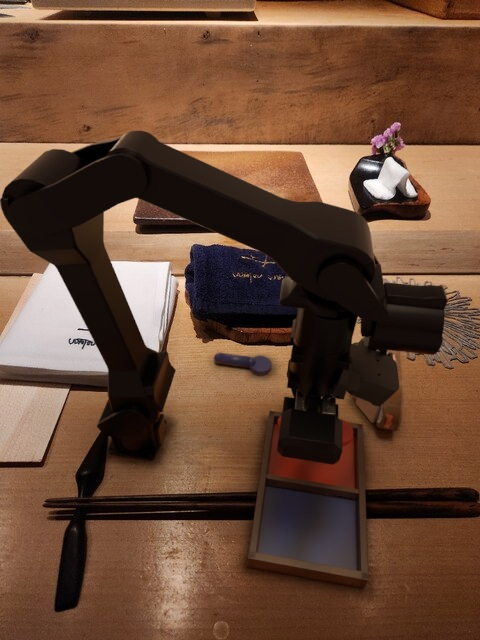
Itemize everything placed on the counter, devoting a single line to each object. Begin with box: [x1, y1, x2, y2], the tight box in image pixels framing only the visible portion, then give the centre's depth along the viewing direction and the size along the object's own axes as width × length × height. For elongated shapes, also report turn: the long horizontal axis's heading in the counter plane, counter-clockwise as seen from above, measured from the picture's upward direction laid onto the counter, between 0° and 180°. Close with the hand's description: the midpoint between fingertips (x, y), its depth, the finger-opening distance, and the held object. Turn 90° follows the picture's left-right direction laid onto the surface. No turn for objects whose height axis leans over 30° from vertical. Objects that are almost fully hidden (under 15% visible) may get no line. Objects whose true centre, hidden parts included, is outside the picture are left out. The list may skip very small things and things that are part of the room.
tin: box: [375, 350, 405, 432], centre depth 67 cm, size 15×3×8 cm, turn 168°
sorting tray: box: [246, 410, 370, 589], centre depth 58 cm, size 13×20×3 cm, turn 171°
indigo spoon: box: [213, 352, 272, 377], centre depth 74 cm, size 9×3×2 cm, turn 80°
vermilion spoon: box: [278, 417, 353, 446], centre depth 57 cm, size 9×3×2 cm, turn 80°
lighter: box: [355, 397, 381, 424], centre depth 66 cm, size 7×2×8 cm, turn 26°
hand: (304, 425), depth 57 cm, fingers closed on vermilion spoon, 2 cm apart
